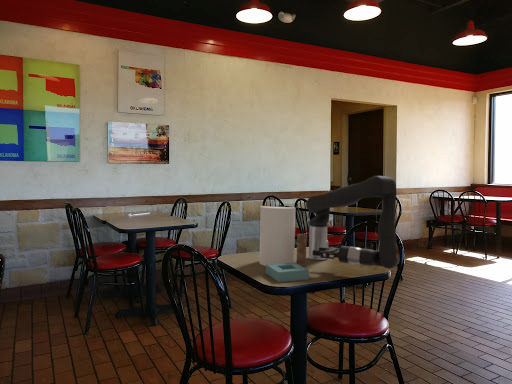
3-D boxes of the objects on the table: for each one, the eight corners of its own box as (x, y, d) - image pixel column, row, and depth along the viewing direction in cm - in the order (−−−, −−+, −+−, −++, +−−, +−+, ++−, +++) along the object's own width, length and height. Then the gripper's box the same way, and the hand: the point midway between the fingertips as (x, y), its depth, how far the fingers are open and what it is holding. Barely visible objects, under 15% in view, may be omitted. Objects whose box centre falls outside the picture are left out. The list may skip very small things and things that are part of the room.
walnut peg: (303, 266, 189) (304, 233, 188) (307, 269, 185) (308, 235, 184) (294, 267, 188) (295, 234, 187) (298, 269, 184) (299, 235, 183)
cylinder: (292, 268, 186) (293, 209, 185) (256, 265, 189) (257, 207, 188) (295, 260, 203) (297, 206, 201) (262, 258, 206) (263, 204, 205)
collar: (294, 271, 180) (294, 262, 180) (308, 279, 167) (308, 270, 167) (265, 273, 176) (265, 264, 175) (278, 281, 162) (278, 272, 162)
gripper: (355, 244, 181) (321, 240, 189) (346, 249, 168) (310, 245, 176) (354, 260, 181) (320, 256, 189) (346, 266, 169) (310, 262, 176)
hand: (315, 251), depth 183 cm, fingers open, 8 cm apart
